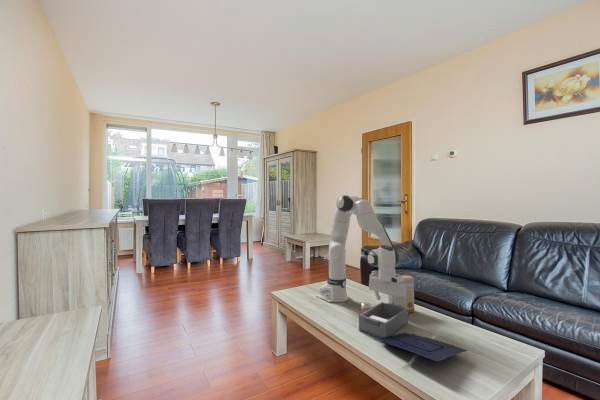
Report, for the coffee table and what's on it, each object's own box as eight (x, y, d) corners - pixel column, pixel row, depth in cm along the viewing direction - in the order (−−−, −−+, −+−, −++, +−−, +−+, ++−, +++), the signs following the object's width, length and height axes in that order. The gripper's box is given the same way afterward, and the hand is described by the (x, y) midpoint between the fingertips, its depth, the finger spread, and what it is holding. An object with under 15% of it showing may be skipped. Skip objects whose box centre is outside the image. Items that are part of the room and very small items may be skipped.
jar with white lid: (362, 316, 165) (362, 302, 165) (370, 318, 162) (371, 303, 163) (359, 318, 160) (360, 303, 161) (368, 320, 158) (368, 305, 158)
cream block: (365, 328, 146) (365, 319, 146) (372, 324, 151) (371, 315, 151) (383, 335, 139) (383, 324, 139) (389, 330, 145) (389, 320, 145)
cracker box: (409, 308, 175) (408, 274, 175) (414, 312, 169) (414, 277, 169) (387, 310, 173) (387, 276, 173) (392, 314, 167) (392, 278, 167)
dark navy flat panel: (407, 337, 145) (407, 330, 145) (469, 357, 120) (468, 348, 121) (375, 345, 131) (375, 337, 132) (437, 369, 107) (437, 359, 107)
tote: (357, 331, 146) (357, 315, 146) (383, 315, 166) (382, 301, 166) (385, 341, 135) (384, 324, 135) (408, 322, 155) (408, 308, 155)
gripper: (366, 273, 159) (366, 298, 159) (402, 281, 145) (401, 308, 145) (372, 271, 163) (372, 295, 163) (407, 278, 149) (407, 305, 149)
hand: (386, 301), depth 154 cm, fingers open, 8 cm apart
